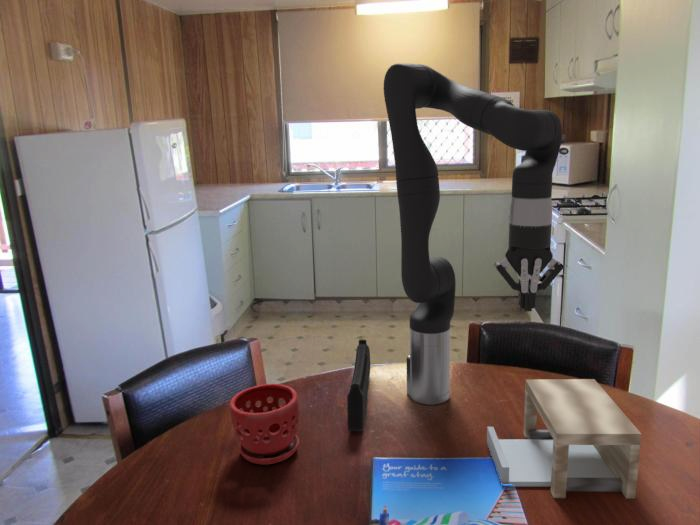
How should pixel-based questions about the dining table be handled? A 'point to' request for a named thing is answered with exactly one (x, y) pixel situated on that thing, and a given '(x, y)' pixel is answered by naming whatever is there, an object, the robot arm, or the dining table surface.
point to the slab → (541, 461)
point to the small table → (583, 432)
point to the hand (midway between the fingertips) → (526, 310)
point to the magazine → (359, 388)
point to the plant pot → (266, 423)
